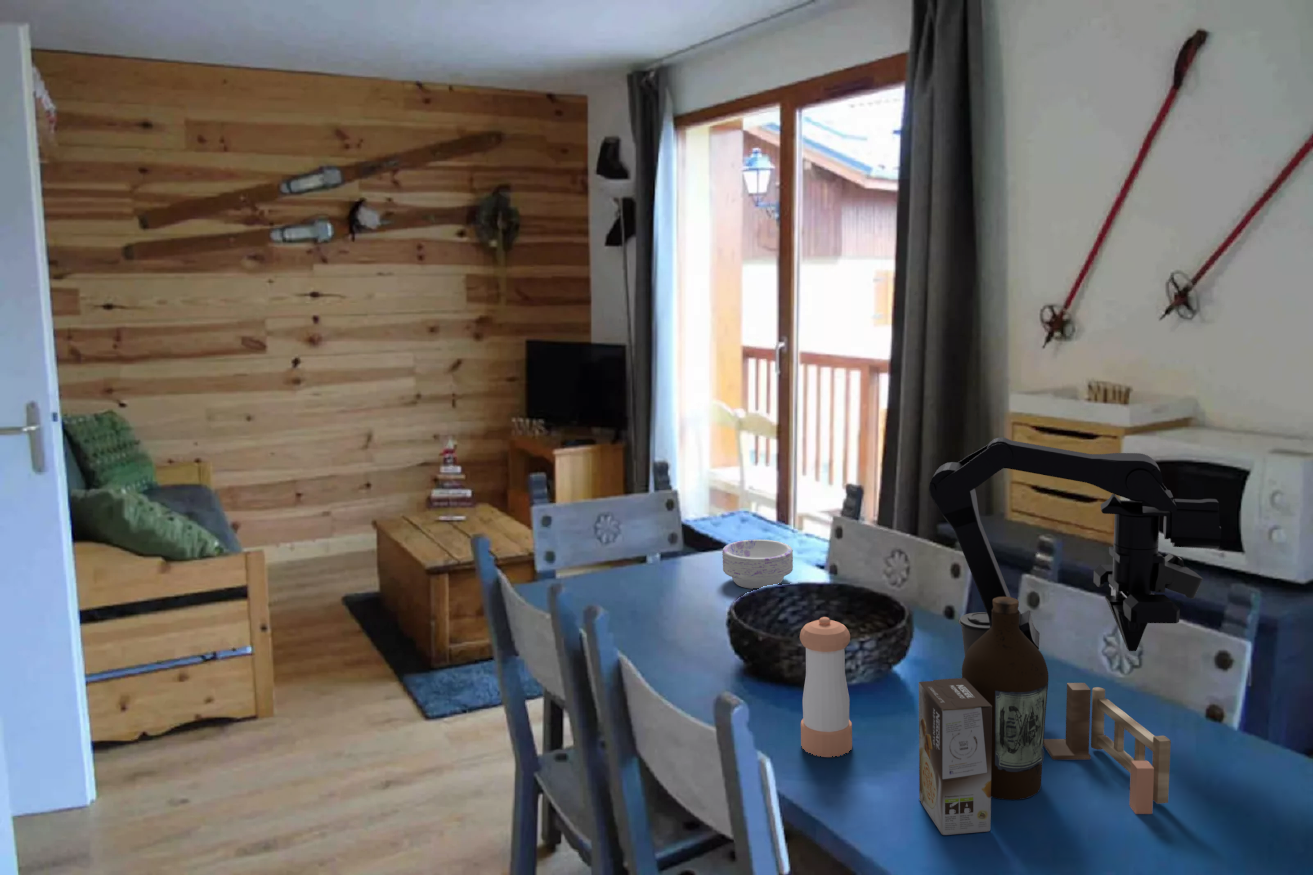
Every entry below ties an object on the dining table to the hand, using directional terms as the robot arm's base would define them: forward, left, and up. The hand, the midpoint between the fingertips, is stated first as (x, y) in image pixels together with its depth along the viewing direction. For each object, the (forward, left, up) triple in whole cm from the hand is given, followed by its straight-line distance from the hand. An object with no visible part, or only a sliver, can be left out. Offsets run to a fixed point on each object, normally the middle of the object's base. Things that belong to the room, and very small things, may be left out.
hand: (1131, 650), depth 149 cm
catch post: (-7, -23, -12) cm, 27 cm away
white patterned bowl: (-52, +73, -12) cm, 90 cm away
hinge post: (-11, -7, -12) cm, 18 cm away
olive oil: (-22, -16, -12) cm, 30 cm away
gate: (-6, -14, -11) cm, 19 cm away
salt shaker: (-44, -5, -12) cm, 46 cm away
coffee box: (-30, -24, -12) cm, 40 cm away
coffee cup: (-16, +21, -12) cm, 29 cm away
